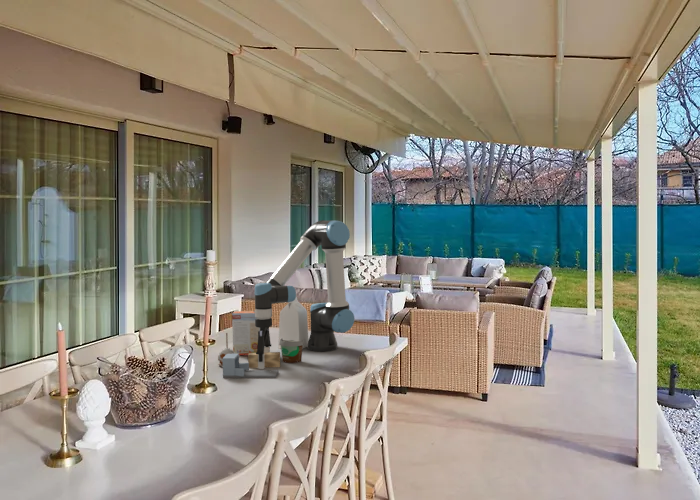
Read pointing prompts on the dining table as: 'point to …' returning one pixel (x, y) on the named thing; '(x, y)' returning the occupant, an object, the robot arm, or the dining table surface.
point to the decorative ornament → (224, 352)
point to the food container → (291, 351)
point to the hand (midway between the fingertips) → (264, 364)
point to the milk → (293, 323)
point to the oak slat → (269, 359)
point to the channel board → (256, 374)
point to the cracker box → (244, 332)
